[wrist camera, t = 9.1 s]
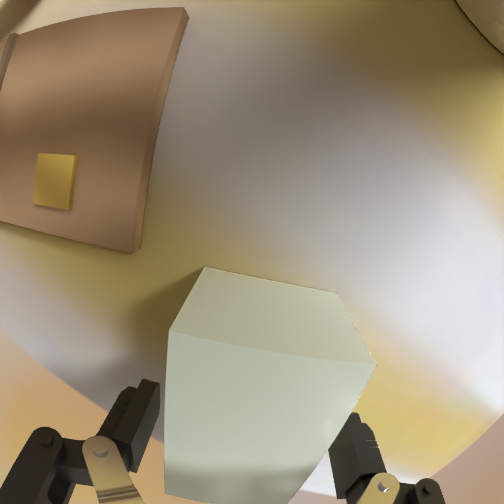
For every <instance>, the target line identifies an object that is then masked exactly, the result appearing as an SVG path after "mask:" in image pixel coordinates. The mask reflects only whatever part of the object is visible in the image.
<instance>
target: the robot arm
mask: <svg viewBox="0 0 504 504" xmlns="http://www.w3.org/2000/svg"><path fill="white" fill-rule="evenodd" d="M456 1H457V3H458V4H459V6H460V7H461V9H462V10H463V11H464V12H465V14H466V15H467V16H468V18H469V19H470V20H471V21H472V23H473V24H474V25H475V26H476V27H477V28H478V30H479V31H480V32H481V33H482V34H483V35H484V36H485V37H486V38H487V39H488V40H489V41H490V42H491V43H492V44H493V45H494V46H495V47H496V48H497V49H498V50H499V51H501V52H502V53H503V54H504V0H456ZM159 409H160V383H157V382H153V381H150V380H146V379H142V381H141V382H140V384H139V386H138V388H134V387H131V386H129V387H127V388H126V389H125V390H123V391H122V392H121V393H120V394H119V396H118V398H117V400H116V402H115V403H114V405H113V407H112V409H111V410H110V412H109V414H108V415H107V417H106V419H105V421H104V423H103V425H102V426H101V428H100V430H99V432H98V433H97V434H96V435H95V436H93V437H90V438H88V439H87V440H73V439H67V438H62V437H61V435H60V434H59V433H58V432H57V431H56V430H55V429H52V428H50V427H40V428H37V429H36V430H34V431H33V433H32V434H31V436H30V437H29V439H28V441H27V442H26V444H25V446H24V447H23V449H22V451H21V452H20V454H19V456H18V458H17V459H16V461H15V463H14V464H13V466H12V468H11V470H10V472H9V473H8V475H7V477H6V479H5V481H4V483H3V485H2V487H1V488H0V504H68V502H69V500H70V498H71V495H72V493H73V490H74V488H75V485H76V484H82V485H89V486H94V487H95V490H96V493H97V497H98V500H99V503H100V504H145V503H144V501H143V499H142V498H141V496H140V494H139V492H138V491H137V489H136V488H135V487H134V485H133V483H132V480H131V478H130V476H129V474H128V473H129V471H132V472H135V473H137V470H138V467H139V465H140V462H141V459H142V457H143V454H144V451H145V449H146V446H147V443H148V441H149V438H150V436H151V433H152V431H153V428H154V425H155V423H156V420H157V418H158V414H159ZM328 451H329V457H330V462H331V467H332V472H333V478H334V483H335V489H336V495H337V499H346V501H347V503H346V504H445V501H444V498H443V495H442V492H441V489H440V487H439V485H438V483H437V482H435V481H434V480H432V479H429V478H425V479H422V480H420V481H419V482H418V483H416V484H407V483H400V482H399V481H398V480H397V478H396V477H395V476H393V475H391V474H389V473H387V471H386V469H385V466H384V463H383V460H382V457H381V454H380V451H379V448H378V445H377V442H376V441H375V437H374V434H373V431H372V430H371V429H370V427H369V426H368V425H367V424H366V423H362V422H361V420H360V417H359V414H358V413H351V414H350V416H349V417H348V419H347V421H346V422H345V424H344V426H343V427H342V429H341V430H340V432H339V434H338V435H337V437H336V438H335V440H334V441H333V443H332V444H331V446H330V447H329V449H328Z"/></svg>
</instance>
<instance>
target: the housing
mask: <svg viewBox="0 0 504 504" xmlns="http://www.w3.org/2000/svg"><path fill="white" fill-rule="evenodd" d="M376 366H377V364H376V362H375V360H374V358H373V356H372V354H371V353H370V351H369V349H368V347H367V345H366V343H365V342H364V340H363V338H362V336H361V335H360V333H359V331H358V329H357V327H356V326H355V324H354V322H353V320H352V319H351V317H350V315H349V313H348V312H347V310H346V308H345V307H344V305H343V303H342V301H341V300H340V298H339V296H338V295H337V293H335V292H330V291H324V290H319V289H314V288H308V287H303V286H298V285H293V284H288V283H283V282H278V281H272V280H267V279H262V278H257V277H253V276H248V275H243V274H238V273H233V272H228V271H223V270H219V269H214V268H209V267H204V269H203V271H202V272H201V274H200V276H199V278H198V279H197V281H196V283H195V285H194V286H193V288H192V290H191V292H190V293H189V295H188V297H187V299H186V301H185V302H184V304H183V306H182V308H181V310H180V311H179V313H178V315H177V317H176V319H175V320H174V322H173V324H172V326H171V328H170V329H169V336H168V349H167V365H166V383H165V409H164V477H165V478H164V479H165V494H168V495H172V496H177V497H181V498H186V499H190V500H195V501H200V502H206V503H211V504H287V503H288V502H289V501H290V500H291V499H292V498H293V496H294V495H295V494H296V493H297V491H298V490H299V489H300V488H301V486H302V485H303V484H304V482H305V481H306V480H307V478H308V477H309V476H310V474H311V473H312V472H313V470H314V469H315V468H316V466H317V465H318V463H319V462H320V461H321V459H322V458H323V456H324V455H325V453H326V452H327V450H328V449H329V447H330V446H331V444H332V443H333V441H334V440H335V438H336V437H337V435H338V434H339V432H340V430H341V429H342V427H343V426H344V424H345V422H346V421H347V419H348V417H349V416H350V414H351V412H352V410H353V409H354V407H355V405H356V403H357V402H358V400H359V398H360V396H361V394H362V393H363V391H364V389H365V387H366V385H367V383H368V381H369V379H370V378H371V376H372V374H373V372H374V370H375V368H376Z"/></svg>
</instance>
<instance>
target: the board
mask: <svg viewBox="0 0 504 504" xmlns="http://www.w3.org/2000/svg"><path fill="white" fill-rule="evenodd" d="M188 19H189V16H188V14H187V12H186V10H185V8H184V7H171V8H148V9H135V10H125V11H117V12H110V13H103V14H97V15H91V16H86V17H81V18H76V19H72V20H67V21H63V22H59V23H55V24H52V25H48V26H44V27H41V28H38V29H35V30H31V31H28V32H25V33H22V34H20V35H18V34H16V33H14V34H11V35H9V37H8V39H6V40H4V41H1V42H0V221H3V222H7V223H10V224H14V225H18V226H21V227H25V228H29V229H33V230H36V231H40V232H44V233H48V234H52V235H56V236H60V237H64V238H68V239H72V240H76V241H80V242H84V243H88V244H92V245H96V246H100V247H104V248H109V249H113V250H117V251H121V252H126V253H130V254H132V253H133V252H135V251H136V250H138V249H139V248H140V245H141V235H142V226H143V217H144V209H145V202H146V195H147V188H148V181H149V175H150V169H151V163H152V158H153V152H154V147H155V142H156V137H157V132H158V127H159V122H160V118H161V114H162V109H163V105H164V101H165V97H166V93H167V89H168V85H169V81H170V77H171V74H172V70H173V66H174V63H175V59H176V56H177V53H178V49H179V46H180V43H181V40H182V37H183V34H184V31H185V28H186V25H187V22H188Z"/></svg>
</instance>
